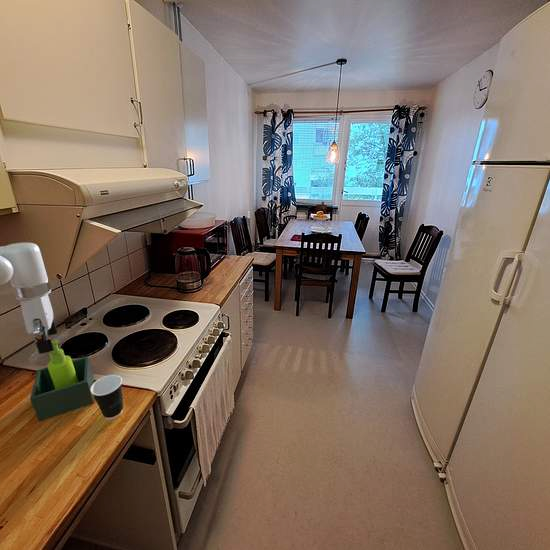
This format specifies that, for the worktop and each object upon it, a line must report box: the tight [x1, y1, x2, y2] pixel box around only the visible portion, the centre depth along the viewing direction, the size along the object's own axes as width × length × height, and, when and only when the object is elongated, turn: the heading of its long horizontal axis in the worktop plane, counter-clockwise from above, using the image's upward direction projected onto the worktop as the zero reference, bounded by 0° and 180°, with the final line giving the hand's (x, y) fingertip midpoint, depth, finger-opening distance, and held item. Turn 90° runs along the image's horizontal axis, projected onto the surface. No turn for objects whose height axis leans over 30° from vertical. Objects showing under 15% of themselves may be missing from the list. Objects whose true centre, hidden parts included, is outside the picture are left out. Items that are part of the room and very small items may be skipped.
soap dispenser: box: [35, 339, 79, 390], centre depth 87 cm, size 6×7×20 cm
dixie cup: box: [90, 374, 124, 421], centre depth 83 cm, size 8×8×11 cm
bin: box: [29, 356, 95, 422], centre depth 89 cm, size 14×14×9 cm
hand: (49, 342), depth 83 cm, fingers open, 9 cm apart
